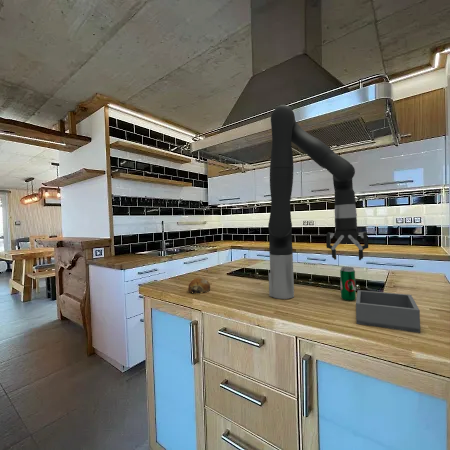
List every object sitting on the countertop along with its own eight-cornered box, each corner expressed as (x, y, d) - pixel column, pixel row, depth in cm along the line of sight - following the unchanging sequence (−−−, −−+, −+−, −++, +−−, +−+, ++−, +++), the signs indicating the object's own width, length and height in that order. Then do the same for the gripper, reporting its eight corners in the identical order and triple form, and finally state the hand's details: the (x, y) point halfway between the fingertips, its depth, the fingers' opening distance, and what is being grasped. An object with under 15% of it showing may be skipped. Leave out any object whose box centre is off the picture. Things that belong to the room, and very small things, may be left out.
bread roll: (212, 299, 116) (217, 281, 118) (196, 294, 109) (201, 275, 112) (198, 295, 123) (202, 279, 125) (182, 290, 116) (187, 273, 118)
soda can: (343, 296, 100) (342, 266, 100) (357, 298, 97) (356, 267, 97) (339, 299, 97) (338, 268, 96) (354, 302, 93) (353, 269, 93)
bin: (356, 323, 75) (355, 303, 75) (358, 307, 88) (357, 290, 88) (420, 332, 67) (419, 310, 67) (411, 313, 80) (411, 294, 80)
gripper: (324, 218, 97) (326, 260, 97) (367, 215, 90) (369, 261, 90) (326, 217, 103) (328, 257, 103) (367, 215, 96) (368, 258, 96)
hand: (347, 259), depth 97 cm, fingers open, 8 cm apart
